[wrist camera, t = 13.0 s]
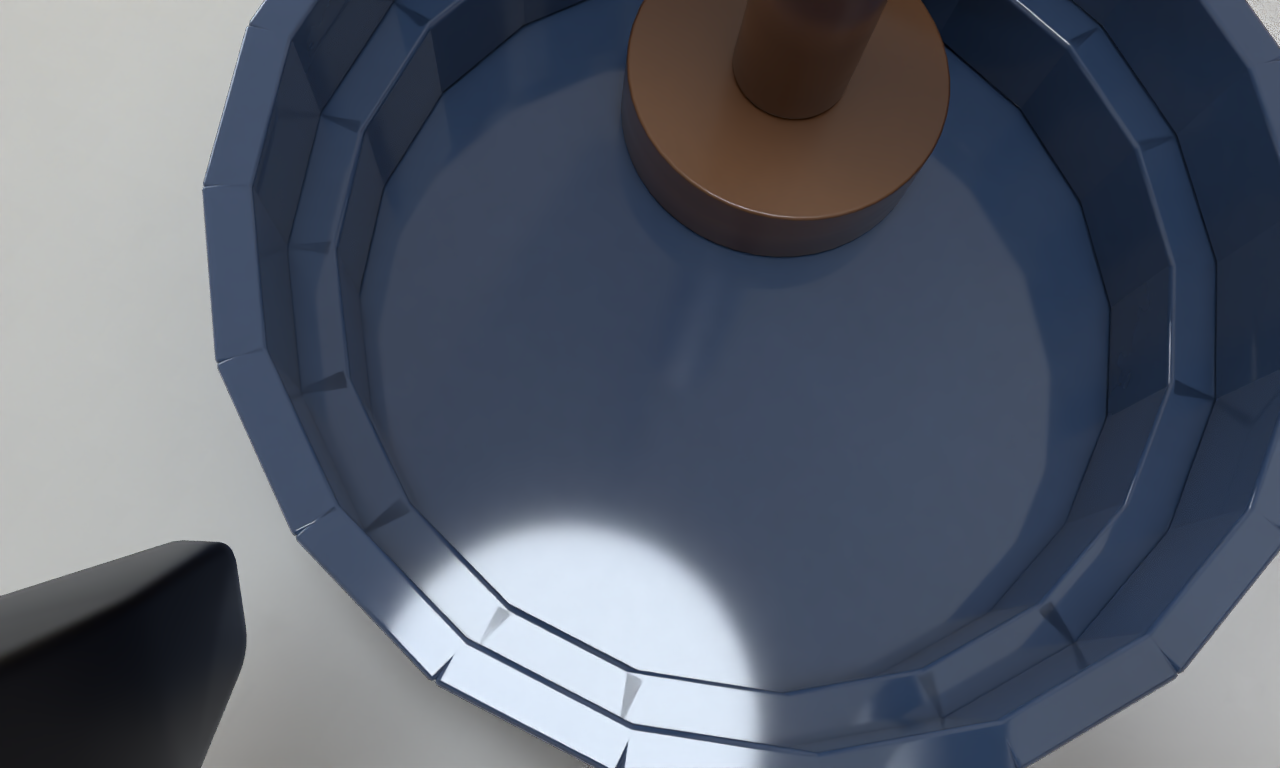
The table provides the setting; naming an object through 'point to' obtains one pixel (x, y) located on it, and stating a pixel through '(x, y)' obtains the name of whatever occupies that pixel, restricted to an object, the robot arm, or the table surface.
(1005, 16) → the bowl
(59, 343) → the table surface
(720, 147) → the brown plunger
